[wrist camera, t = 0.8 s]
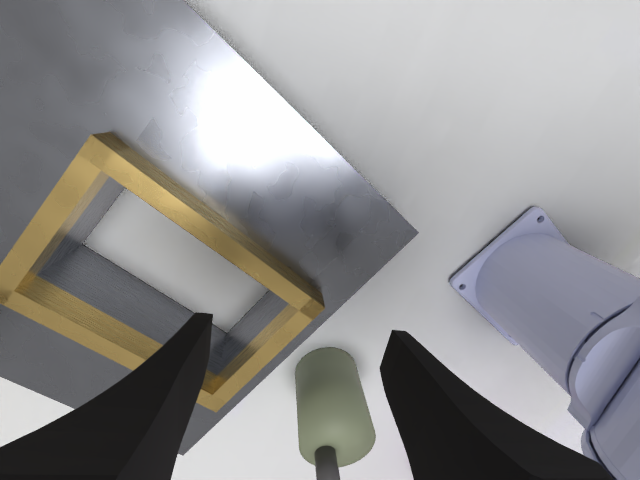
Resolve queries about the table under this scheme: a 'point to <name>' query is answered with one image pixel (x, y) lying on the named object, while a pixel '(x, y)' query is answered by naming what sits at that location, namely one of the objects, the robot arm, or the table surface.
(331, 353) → the spout can
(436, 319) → the table surface
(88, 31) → the grey panel with frame
